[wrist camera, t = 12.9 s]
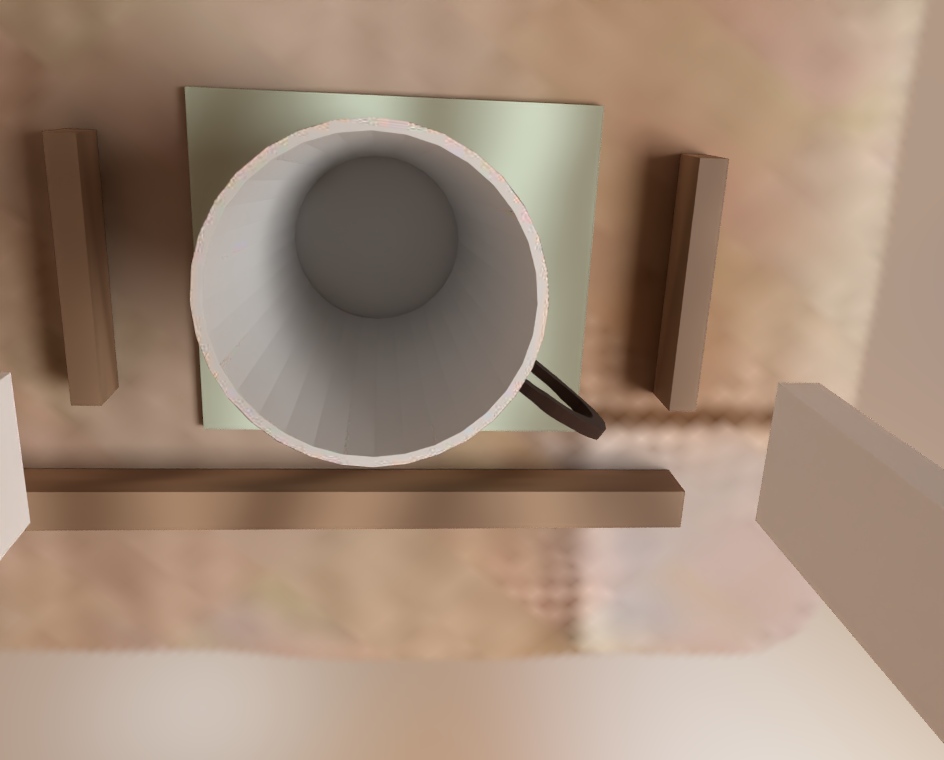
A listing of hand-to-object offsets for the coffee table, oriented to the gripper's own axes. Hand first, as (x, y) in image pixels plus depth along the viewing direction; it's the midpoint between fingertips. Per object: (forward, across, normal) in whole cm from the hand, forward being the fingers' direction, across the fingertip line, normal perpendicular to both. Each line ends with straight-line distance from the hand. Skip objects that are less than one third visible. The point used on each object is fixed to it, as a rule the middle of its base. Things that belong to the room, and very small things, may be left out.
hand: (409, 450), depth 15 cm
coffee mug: (+17, 0, 0) cm, 17 cm away
